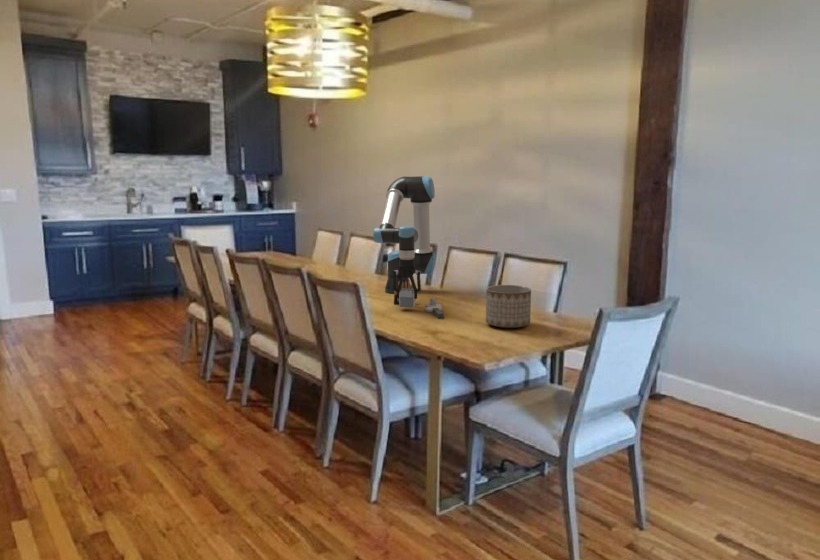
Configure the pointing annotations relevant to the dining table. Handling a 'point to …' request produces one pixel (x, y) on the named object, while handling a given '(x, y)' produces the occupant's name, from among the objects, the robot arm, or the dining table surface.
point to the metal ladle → (434, 309)
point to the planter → (508, 306)
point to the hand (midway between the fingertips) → (407, 304)
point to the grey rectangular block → (406, 297)
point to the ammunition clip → (396, 300)
